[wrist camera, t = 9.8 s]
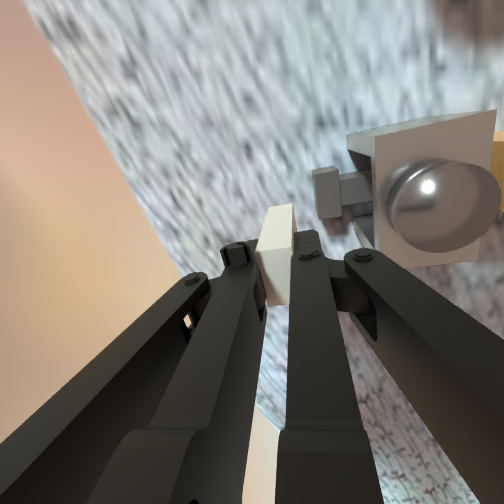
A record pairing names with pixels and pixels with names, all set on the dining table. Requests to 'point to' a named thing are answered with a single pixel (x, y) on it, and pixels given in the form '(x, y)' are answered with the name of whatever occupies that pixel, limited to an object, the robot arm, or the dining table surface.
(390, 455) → the dining table surface
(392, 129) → the housing
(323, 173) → the plug
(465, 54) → the dining table surface
